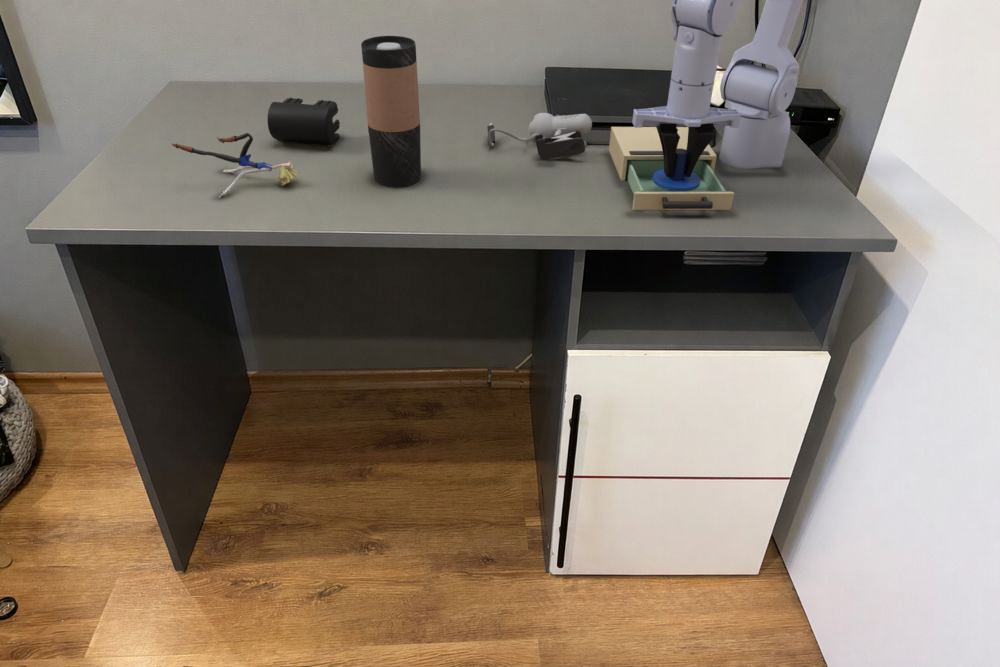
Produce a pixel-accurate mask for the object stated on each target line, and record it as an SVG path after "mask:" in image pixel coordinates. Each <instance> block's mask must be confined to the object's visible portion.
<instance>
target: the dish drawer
mask: <svg viewBox="0 0 1000 667" xmlns="http://www.w3.org/2000/svg"><path fill="white" fill-rule="evenodd" d="M676 128H677V129H678V132H677V133H678V135H679V136H680V139H679V142H678V146H677V149H685V150H687V142H688V127H687V126H676ZM608 152H609V154H610V157H611V160H612V162H613V164H614V167H615V169H616V172H617V174H618V177H619V180H620V181H622V182H623V181H624V182H625V181H626V168H627V160H664V158H663V151H662V145H661V141H660V138H659V134H658V131H657V128H656V126H642V128H635V127H634V126H611V127H610V135H609V144H608ZM717 158H718V156H717V154H716V153H715V151H714V149H713V148H712V147H711V145H710V144H709V145H708V146H707V147H706V148H705V150H704V151H703V153H702V154H701V156H700V157H699V159H698V160H706V162H707V163H708V165H709V166H710V168H711V169H712V171H713V172H714V173H715V169H716V162H717Z"/></svg>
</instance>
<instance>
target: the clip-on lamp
mask: <svg viewBox="0 0 1000 667" xmlns="http://www.w3.org/2000/svg"><path fill="white" fill-rule="evenodd" d="M486 127H487V141H488V145H489V146H490V147H494V145H495V144H496V133H495V132H499V133H502V134H504V135H507V136H509V137H511V138H513V139H516V140H517V141H520V142H526V143H527V142H530V141H531V140H533V139H534V140H535V146H536V149H537V150H536V151H537V154H538V155H537V156H539V159H540V161H549V160H550V159H555V158H561V157H568V156H574V155H580V154H584V153H585V152H586V147H587V141H585V140H584V138H582V136H585V135H588V134H589V133H590V132H591V130H592V127H593V122H592V118H591V117H590V116H589V115H588V114H586V113H577V114H568V115H556V116H555V115H553V114H551V113H548V112H539V113H537V114H535V115H534V117H533V119H532V121H531V122H530V123H529V125H528V133H529V136H528V137H526V138H523V137H520V136H517V135H516V134H513V133H511V132H509V131H506V130H504V129H500V128H495V126H494V123H493V122H490V123H489V125H487V126H486Z"/></svg>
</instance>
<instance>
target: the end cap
mask: <svg viewBox="0 0 1000 667" xmlns="http://www.w3.org/2000/svg"><path fill="white" fill-rule="evenodd" d="M303 102H304V100H303V98H299V97H297V98H295V97H294V98H293V97H287V98H285V99H284V100H283V101H272V103H271V104H270V105H269V108H268V111H267V127H268V132H269V134H270V136H271V137H272V138H273V139H274V140H276V141H278V142H279V143H285V144H286V143H287V144H298V145H300V144H301V145H312V146H324V147H333V146H334V145H335V144H336V143H337V142H338V140H340V133H338V132H337V131H339V129H340V124H341V122H340V119H335V121H333V120H334V119H333V118H334V117H335V116H336V115H337V114H338V113H339V108H338V104H337V102H335V101H334V100H333V101H332V100H330V99H329V100H323V99H321V100H317V101H316V103H314V104H307V103H303Z"/></svg>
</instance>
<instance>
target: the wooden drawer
mask: <svg viewBox="0 0 1000 667" xmlns="http://www.w3.org/2000/svg"><path fill="white" fill-rule="evenodd" d="M661 169H664V160H627V168H626V176H625V179H626V180H627V183H628V184H629V187H630V189H631V192H632V195H633V200H632V207H631V208H632V211H731V210H732V206H733V201H734V197H735V192H734V191H726V188H725V187H724V186H723V184H722V183H721V182H720V180H719V178H718V177H717V175H716V174H715V171H714V172H713V171H712V169H711V168H710V166H709V165H708V163H707V162H706V160H698V161H697V163H696V165H695V167H694V169H693V173H695V174H696V175H698V176H699V177H700V180H701V181H700V185H699V187H698V188H696V189H694V190H690V191H672V190H667V189H664V188H661V187H659V186H657V185H656V184H655V183H654V182H653V174H654V173H655V172H656V171H658V170H661Z"/></svg>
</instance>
